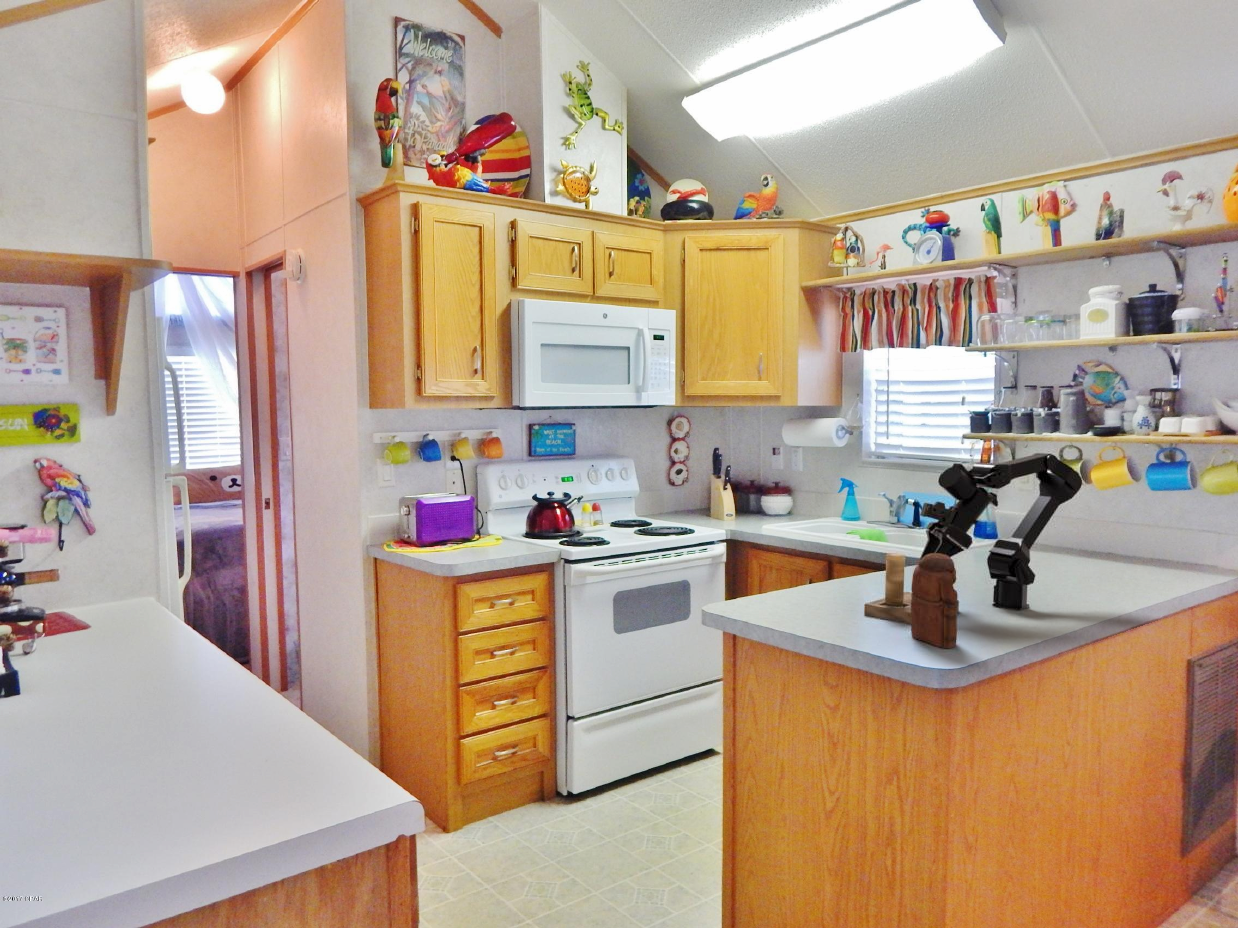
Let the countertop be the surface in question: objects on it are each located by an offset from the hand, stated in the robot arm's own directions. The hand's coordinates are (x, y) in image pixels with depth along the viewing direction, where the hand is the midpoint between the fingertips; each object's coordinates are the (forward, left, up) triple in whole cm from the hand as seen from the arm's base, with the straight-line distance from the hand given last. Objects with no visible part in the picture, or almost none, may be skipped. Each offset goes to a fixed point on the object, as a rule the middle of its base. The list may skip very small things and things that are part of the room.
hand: (925, 563), depth 201 cm
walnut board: (+1, +4, -11) cm, 12 cm away
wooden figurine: (-14, +24, -11) cm, 30 cm away
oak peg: (+3, +10, -11) cm, 15 cm away
